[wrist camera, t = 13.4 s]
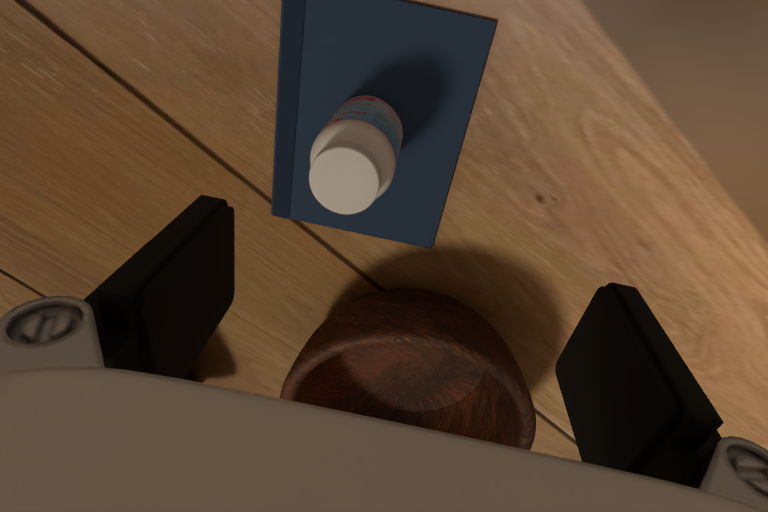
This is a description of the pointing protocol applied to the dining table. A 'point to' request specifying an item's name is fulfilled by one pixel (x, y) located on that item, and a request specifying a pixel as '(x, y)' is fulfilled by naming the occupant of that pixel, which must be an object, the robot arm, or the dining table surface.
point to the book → (384, 81)
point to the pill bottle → (355, 155)
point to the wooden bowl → (416, 368)
